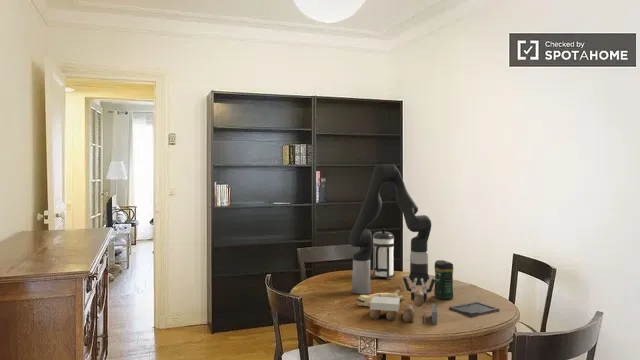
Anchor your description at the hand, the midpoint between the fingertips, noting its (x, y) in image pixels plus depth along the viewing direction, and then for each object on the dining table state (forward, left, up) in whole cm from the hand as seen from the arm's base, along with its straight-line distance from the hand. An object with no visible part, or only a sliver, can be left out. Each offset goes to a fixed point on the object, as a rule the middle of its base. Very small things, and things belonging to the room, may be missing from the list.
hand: (419, 301), depth 193 cm
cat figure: (-19, +19, -8) cm, 28 cm away
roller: (0, 0, -1) cm, 1 cm away
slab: (-15, 0, -4) cm, 15 cm away
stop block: (+6, 0, -8) cm, 10 cm away
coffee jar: (+11, +37, -8) cm, 40 cm away
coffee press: (-23, +72, -8) cm, 76 cm away
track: (-9, 0, -8) cm, 12 cm away
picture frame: (+24, +19, -8) cm, 32 cm away
